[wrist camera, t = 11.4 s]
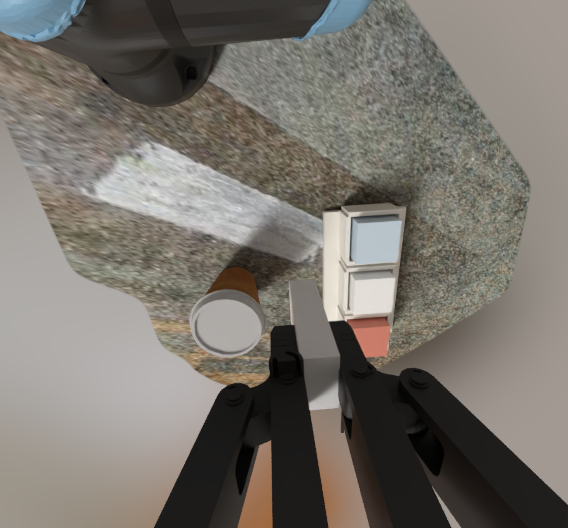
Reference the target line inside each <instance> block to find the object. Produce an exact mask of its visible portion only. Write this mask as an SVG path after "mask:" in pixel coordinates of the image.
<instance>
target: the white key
mask: <svg viewBox="0 0 568 528" xmlns="http://www.w3.org/2000/svg"><path fill="white" fill-rule="evenodd" d="M395 278H396V277H395V276H394V275H393V274H392V273H391V272H390V271H389V270H388V269H386V270H372V271H358V272H349V277H348V302H347V303H348V305H349V307H350V309H351V311H352V313H353V315H361V314H375V313H388V312H392V305H393V296H394V287H395Z"/></svg>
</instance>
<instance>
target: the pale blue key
mask: <svg viewBox="0 0 568 528" xmlns="http://www.w3.org/2000/svg"><path fill="white" fill-rule="evenodd" d="M401 225H402V220H400V219H399V218H397V217H395V216H394V215H392V214H387V215H372V216H357V217H351V228H350V253H349V255H350V257H351V258H352V260H353V261H354V262H355V264H368V263H382V262H396V261H398V252H399V243H400V234H401Z"/></svg>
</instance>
